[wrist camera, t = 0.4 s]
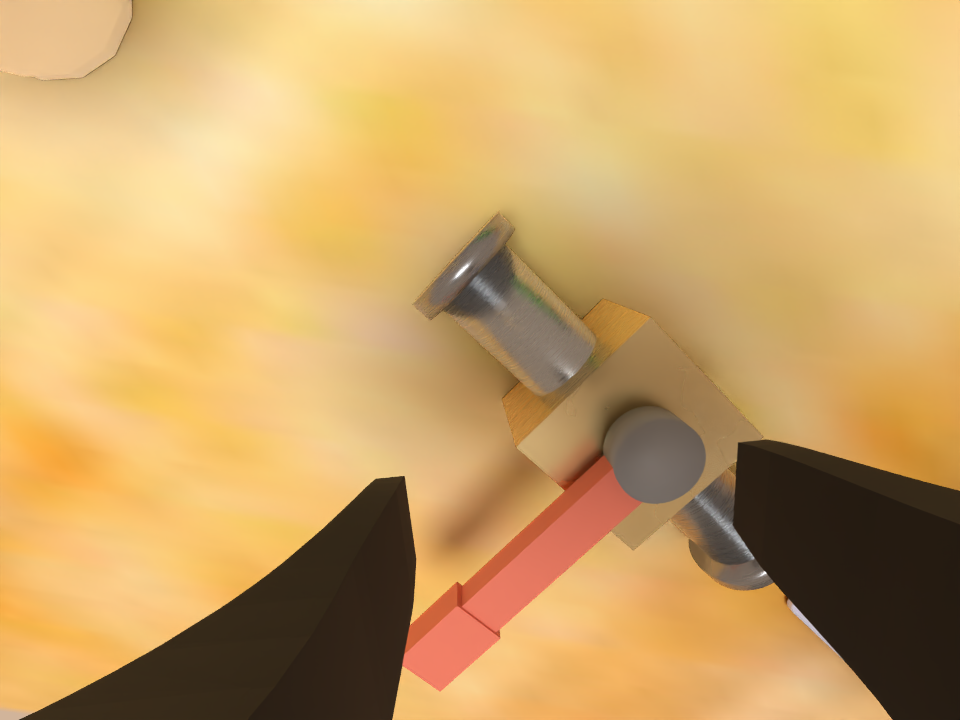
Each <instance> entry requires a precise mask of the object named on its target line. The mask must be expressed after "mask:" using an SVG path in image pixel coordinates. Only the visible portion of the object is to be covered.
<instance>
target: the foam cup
mask: <svg viewBox="0 0 960 720" xmlns="http://www.w3.org/2000/svg"><path fill="white" fill-rule="evenodd" d="M131 19H132V0H0V71H2V72H6V73H11V74H15V75H19V76H24V77H35V78H37V79H40V80H54V79H69V78H83V77H85V76H86V75H87V74H89V73H90V72H92V71H93V70H95V69H96V68H98V67H99V66H100V65H102V64H103V63H105V62H106V61H108V60H109V59H111V58H112V57H113V56H115V54H116V52H117V50H118V48H119V46H120V43H121V41H122V39H123V37H124V34H125V32H126V30H127V28H128V25H129V23H130V21H131Z"/></svg>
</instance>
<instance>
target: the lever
mask: <svg viewBox="0 0 960 720" xmlns="http://www.w3.org/2000/svg"><path fill="white" fill-rule="evenodd" d="M603 454H604V456H602V457H601V458H600V459H599V460H598V461H597V462H596V463H595V464H594V465H593V466H592V467H591V468H590V469H588V470H587V471H586V472H585V473H584V474H583V475H582V476H581V477H580V478H579V479H578V480H577V481H575V482H574V483H573V484H572V485H571V486H570V487H569V488H568V489H567V490H566V491H565V492H564V493H562V494H561V495H560V496H559V497H558V498H557V499H556V500H555V501H554V502H553V503H552V504H551V505H549V506H548V507H547V508H546V509H545V510H544V511H543V512H542V513H541V514H540V515H539V516H538V517H537V518H535V519H534V520H533V521H532V522H531V523H530V524H529V525H528V526H527V527H526V528H525V529H524V530H522V531H521V532H520V533H519V534H518V535H517V536H516V537H515V538H514V539H513V540H512V541H511V542H509V543H508V544H507V545H506V546H505V547H504V548H503V549H502V550H501V551H500V552H499V553H498V554H496V555H495V556H494V557H493V558H492V559H491V560H490V561H489V562H488V563H487V564H486V565H485V566H483V567H482V568H481V569H480V570H479V571H478V572H477V573H476V574H475V575H474V576H473V577H472V578H471V579H469V580H468V581H467V582H466V583H465V584H464V585H463V586H462V585H461V584H459V583H458V582H456V583H455V584H454V585H453V586H452V587H451V588H450V589H449V590H448V591H447V592H446V593H445V594H443V595H442V596H441V597H440V598H439V599H438V600H437V601H436V602H435V603H434V604H433V605H432V606H431V607H429V608H428V609H427V610H426V611H425V612H424V613H423V614H422V615H421V616H420V617H419V618H418V619H417V620H415V621H414V622H413V623H412V624H411V625H410V626H409V632H408V637H407V643H406V648H405V653H404V659H403V664H402V666H404V667H405V668H407V669H408V670H410V671H411V672H413V673H414V674H415V675H417V676H418V677H420V678H421V679H423V680H424V681H426V682H427V683H428V684H430V685H431V686H433V687H434V688H436V689H437V690H439V691H441V690H443V689H444V688H445V687H446V686H447V685H448V684H449V683H450V682H452V681H453V680H454V679H455V678H456V677H457V676H458V675H459V674H461V673H462V672H463V671H464V670H465V669H466V668H467V667H469V666H470V665H471V664H472V663H473V662H474V661H475V660H476V659H478V658H479V657H480V656H481V655H482V654H483V653H484V652H485V651H487V650H488V649H489V648H490V647H491V646H492V645H493V644H495V643H496V642H497V641H498V640H499V639H500V631H499V630H500V629H501V628H502V627H503V626H504V625H505V624H506V623H507V622H509V621H510V620H511V619H512V618H513V617H514V616H515V615H516V614H518V613H519V612H520V611H521V610H522V609H523V608H524V607H525V606H527V605H528V604H529V603H530V602H531V601H532V600H533V599H534V598H536V597H537V596H538V595H539V594H540V593H541V592H542V591H543V590H545V589H546V588H547V587H548V586H549V585H550V584H551V583H552V582H554V581H555V580H556V579H557V578H558V577H559V576H560V575H561V574H563V573H564V572H565V571H566V570H567V569H568V568H569V567H570V566H572V565H573V564H574V563H575V562H576V561H577V560H578V559H579V558H581V557H582V556H583V555H584V554H585V553H586V552H587V551H588V550H590V549H591V548H592V547H593V546H594V545H595V544H596V543H597V542H599V541H600V540H601V539H602V538H603V537H604V536H605V535H606V534H608V533H609V532H610V531H611V530H612V529H613V528H614V527H615V526H617V525H618V524H619V523H620V522H621V521H622V520H623V519H624V518H626V517H627V516H628V515H629V514H630V513H631V512H632V511H633V510H635V509H636V508H637V507H638V506H639V505H640V504H641V503H642V502H644V503H650V504H660V503H666V502H670V501H673V500H675V499H677V498H679V497H681V496H683V495H684V494H686V493H687V492H688V491H690V490H691V489H692V488H693V487H694V485H695V484H696V483H697V482H698V480H699V479H700V477H701V475H702V473H703V470H704V467H705V462H706V452H705V447H704V444H703V441H702V439H701V438H700V436H699V435H698V434H697V432H696V431H695V430H693V429H692V428H691V427H690V426H689V425H687V424H686V423H685V422H683V421H682V420H681V419H680V418H678V417H677V416H676V415H675V414H673V413H672V412H670V411H669V410H666V409H664V408H661V407H656V406H643V407H638V408H635V409H632V410H630V411H628V412H626V413H624V414H623V415H621V416H620V417H619V418H618V419H617V420H616V421H615V422H614V423H613V424H612V425H611V427H610V428H609V430H608V432H607V434H606V436H605V440H604V445H603Z"/></svg>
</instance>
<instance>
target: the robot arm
mask: <svg viewBox="0 0 960 720" xmlns="http://www.w3.org/2000/svg"><path fill="white" fill-rule="evenodd" d="M733 527H734V528H735V530H736V531H737V533H738V534H739V536H740V537H741V539H742V540H743V542H744V543H745V545H746V547H747V548H748V550H749V551H750V552H751V554H752V555H753V557H754V558H755V559H756V561H757V562H758V564H759V565H760V566H761V568H762V569H763V570H764V571H765V572H766V574H767V575H768V576H769V577H770V578H771V579H772V580H773V582H774V583H775V584H776V585H777V586H778V587H779V588H780V590H781V591H782V592H783V593H784V594H785V595H786V596H787V598H788V601H787V606H788V607H789V609H790V610H791V611H792V612H793V613H794V614H795V615H796V616H797V617H798V618H799V619H801V620H802V621H803V622H804V623H805V624H806V625H807V626H808V627H809V628H810V629H811V630H812V631H813V632H814V633H815V634H816V635H817V636H818V637H820V638H821V639H822V640H823V641H824V642H825V643H826V644H827V645H828V646H829V647H830V648H831V649H832V650H833V651H834V652H835V653H836V654H838V655H839V656H840V657H841V658H842V659H843V660H844V661H845V662H846V663H847V664H848V665H849V667H850V668H851V669H852V670H853V671H854V672H855V673H856V675H857V676H858V677H859V678H860V679H861V681H862V682H863V683H864V684H865V685H866V687H867V688H868V689H869V690H870V691H871V692H872V694H873V695H874V696H875V697H876V699H877V700H878V701H879V702H880V704H881V705H882V706H883V708H884V709H885V710H886V712H887V713H888V714H889V716H890V717H891V718H892V719H893V720H960V491H958V490H954V489H950V488H946V487H942V486H939V485H935V484H931V483H927V482H923V481H920V480H916V479H912V478H909V477H905V476H901V475H898V474H894V473H891V472H887V471H884V470H880V469H877V468H873V467H870V466H866V465H863V464H859V463H856V462H853V461H849V460H846V459H842V458H839V457H835V456H832V455H828V454H825V453H821V452H818V451H814V450H811V449H807V448H803V447H799V446H795V445H791V444H787V443H782V442H777V441H771V440H757V441H747V442H738V449H737V466H736V482H735V499H734V516H733ZM415 571H416V554H415V547H414V540H413V533H412V526H411V519H410V512H409V505H408V498H407V491H406V484H405V476H400V477H390V478H380V479H375V480H374V481H373V482H372V483H370V484H369V485H368V486H367V487H366V488H365V489H364V490H363V491H362V492H361V493H360V494H359V495H358V496H357V497H356V498H355V499H354V500H353V501H352V502H351V503H350V504H349V505H348V506H346V507H345V508H344V509H343V510H342V511H341V512H340V513H339V514H338V515H337V516H336V517H335V518H334V519H333V520H332V521H331V522H330V523H328V524H327V525H326V526H325V527H324V528H323V529H322V530H321V531H320V532H319V533H317V534H316V535H315V536H314V537H313V538H312V539H310V540H309V541H308V542H307V543H306V544H305V545H303V546H302V547H301V548H300V549H299V550H297V551H296V552H295V553H294V554H293V555H292V556H290V557H289V558H288V559H287V560H286V561H285V562H283V563H282V564H281V565H280V566H278V567H277V568H276V569H275V570H273V571H272V572H271V573H269V574H268V575H267V576H265V577H264V578H263V579H261V580H260V581H259V582H257V583H256V584H254V585H253V586H252V587H250V588H249V589H247V590H246V591H245V592H243V593H242V594H240V595H239V596H238V597H236V598H235V599H233V600H232V601H230V602H229V603H227V604H226V605H225V606H223V607H222V608H220V609H218V610H217V611H215V612H214V613H212V614H210V615H209V616H207V617H206V618H204V619H202V620H201V621H199V622H198V623H196V624H194V625H193V626H191V627H189V628H188V629H186V630H185V631H183V632H181V633H180V634H178V635H177V636H175V637H173V638H172V639H170V640H169V641H167V642H165V643H164V644H162V645H161V646H159V647H157V648H155V649H154V650H152V651H150V652H148V653H147V654H145V655H143V656H141V657H139V658H138V659H136V660H134V661H132V662H130V663H129V664H127V665H125V666H123V667H122V668H120V669H118V670H116V671H114V672H112V673H111V674H109V675H107V676H105V677H103V678H101V679H99V680H97V681H95V682H93V683H92V684H90V685H88V686H86V687H84V688H82V689H80V690H78V691H76V692H74V693H73V694H71V695H69V696H67V697H65V698H63V699H61V700H59V701H57V702H55V703H53V704H51V705H49V706H47V707H45V708H43V709H41V710H39V711H37V712H35V713H32V714H30V715H28V716H26V717H24V718H22V719H20V720H392V718H393V712H394V707H395V701H396V696H397V691H398V685H399V680H400V675H401V669H402V664H403V659H404V653H405V648H406V643H407V637H408V632H409V626H410V621H411V615H412V609H413V602H414V588H415Z"/></svg>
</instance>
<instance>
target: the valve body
mask: <svg viewBox="0 0 960 720" xmlns="http://www.w3.org/2000/svg"><path fill="white" fill-rule="evenodd" d="M514 230H515V228H514V227H513V226H512V225H511V224H510V222H509V221H508V220H507V219H506V218H505V217H504V216H503V215H502V214H501V213H500V212H499V211H498V212H497V213H496V214H495V215H494V216H493V217H492V218H491V219H490V220H489V221H488V222H487V223H486V224H485V225H484V226H483V227H482V228H481V229H480V230H479V231H478V232H477V233H476V234H475V235H474V237H473V238H472V239H471V240H470V241H469V242H468V243H467V244H466V245H465V246H464V247H463V248H462V249H461V250H460V252H459V253H458V254H457V255H456V256H455V257H454V258H453V259H452V260H451V261H450V262H449V263H448V265H447V266H446V267H445V268H444V269H443V270H442V271H441V272H440V273H439V274H438V276H437V277H436V278H435V279H434V280H433V281H432V282H431V283H430V284H429V286H428V287H427V288H426V289H425V290H424V291H423V292H422V293H421V295H420V296H419V297H418V298H417V299H416V300H415V302H414V303H413V304H412V305H414V306H415V307H416V308H417V309H418V310H419V311H420V312H421V313H422V314H423V315H424V316H426V317H427V318H428V319H429V320H431V319H433V318H434V317H435V316H436V315H438V314H439V313H440V312H441V311H442V310H444V311H445V312H446V313H447V314H448V315H449V316H450V317H451V318H452V319H454V320H455V321H456V322H457V323H458V324H459V325H460V326H461V327H462V328H463V329H464V330H465V331H466V332H468V333H469V334H470V335H471V336H472V337H473V338H474V339H475V340H476V341H477V342H478V343H479V344H480V345H482V346H483V347H484V348H485V349H486V350H487V351H488V352H489V353H490V354H491V355H492V356H493V357H495V358H496V359H497V360H498V361H499V362H500V363H501V364H502V365H503V366H504V367H505V368H506V369H507V370H509V371H510V372H511V373H512V374H513V375H514V376H515V377H516V378H517V379H518V380H519V381H520V382H519V383H518V384H517V385H516V386H515V387H514V388H513V389H512V390H511V391H510V392H509V393H508V394H507V395H506V396H505V397H504V398H503V399H502V401H503V404H504V408H505V411H506V415H507V418H508V422H509V425H510V428H511V432H512V435H513V439H514V442H515V446H516V448H517V449H519V450H520V451H521V452H522V453H523V454H524V455H525V456H527V457H528V458H529V459H530V460H531V461H532V462H533V463H534V464H536V465H537V466H538V467H539V468H540V469H541V470H542V471H544V472H545V473H546V474H547V475H548V476H549V477H550V478H551V479H553V480H554V481H555V482H556V483H557V484H558V485H559V486H561V487H562V488H563V489H564V490H565V491H566V490H567V489H568V488H569V487H570V486H571V485H572V484H573V483H574V482H575V481H577V480H578V479H579V478H580V477H581V476H582V475H583V474H584V473H585V472H586V471H587V470H588V469H590V468H591V467H592V466H593V465H594V464H595V463H596V462H597V461H598V460H599V459H600V458H601V457H602V456H604V454H603V445H604V440H605V436H606V434H607V432H608V430H609V428H610V427H611V425H612V424H613V423H614V422H615V421H616V420H617V419H618V418H619V417H620V416H621V415H623V414H624V413H626V412H628V411H630V410H632V409H635V408H638V407H643V406H656V407H661V408H664V409H666V410H669V411H670V412H672V413H673V414H675V415H676V416H677V417H678V418H680V419H681V420H682V421H683V422H685V423H686V424H687V425H689V426H690V427H691V428H692V429H693V430H695V431H696V432H697V434H698V435H699V436H700V438H701V439H702V441H703V444H704V447H705V452H706V462H705V467H704V470H703V473H702V475H701V477H700V479H699V480H698V482H697V483H696V484H695V485H694V487H693V488H692V489H691V490H690V491H688V492H687V493H686V494H684V495H683V496H681V497H679V498H677V499H675V500H673V501H670V502H666V503H660V504H650V503H644V502H642V503H641V504H640V505H639V506H638V507H637V508H636V509H635V510H633V511H632V512H631V513H630V514H629V515H628V516H627V517H626V518H624V519H623V520H622V521H621V522H620V523H619V524H618V525H617V526H615V527H614V528H613V529H612V530H611V531H612V532H613V533H614V534H615V535H616V536H617V537H618V538H619V539H621V540H622V541H623V542H624V543H625V544H626V545H627V546H629V547H630V548H631V549H632V550H633V551H634V550H635V549H636V548H637V547H638V546H639V545H640V544H642V543H643V542H644V541H645V540H646V539H647V538H648V537H650V536H651V535H652V534H653V533H654V532H655V531H656V530H658V529H659V528H660V527H661V526H662V525H663V524H665V523H666V522H667V521H668V520H670V521H671V522H672V523H673V524H674V525H676V526H677V527H678V528H679V529H680V530H681V531H682V532H683V533H684V534H685V535H686V536H687V537H688V538H689V548H690V552H691V554H692V557H693V559H694V560H695V562H696V563H697V564H698V566H699V567H700V568H701V569H702V570H703V571H705V572H706V573H707V574H708V575H709V576H710V577H711V578H712V579H714V580H715V581H716V582H717V583H719V584H721V585H723V586H725V587H727V588H731V589H735V590H755V589H759V588H762V587H765V586H768V585H770V584H772V583H774V582H773V580H772V579H771V578H770V577H769V576H768V575H767V574H766V572H765V571H764V570H763V569H762V568H761V566H760V565H759V564H758V562H757V561H756V559H755V558H754V557H753V555H752V554H751V552H750V551H749V550H748V548H747V547H746V545H745V543H744V542H743V540H742V539H741V537H740V536H739V534H738V533H737V531H736V530H735V528H734V527H733V516H734V499H735V482H736V476H735V475H734V474H733V473H732V472H731V471H730V470H729V469H728V468H729V467H730V466H731V465H732V464H733V463H735V462H736V461H737V449H738V442H747V441H757V440H761V439H762V438H763V436H762V435H761V434H760V432H759V431H758V430H757V429H756V428H755V427H754V426H753V425H752V424H751V423H750V422H749V421H748V420H747V419H746V418H745V417H744V415H743V414H742V413H741V412H740V411H739V410H738V409H737V408H736V407H735V406H734V405H733V404H732V403H731V402H730V401H729V400H728V399H727V397H726V396H725V395H724V394H723V393H722V392H721V391H720V390H719V389H718V388H717V387H716V386H715V385H714V384H713V383H712V382H711V380H710V379H709V378H708V377H707V376H706V375H705V374H704V373H703V372H702V371H701V370H700V369H699V368H698V367H697V366H696V365H695V364H694V362H693V361H692V360H691V359H690V358H689V357H688V356H687V355H686V354H685V353H684V352H683V351H682V350H681V349H680V348H679V347H678V345H677V344H676V343H675V342H674V341H673V340H672V339H671V338H670V337H669V336H668V335H667V334H666V333H665V332H664V331H663V330H662V329H661V327H660V326H659V325H658V324H657V323H656V322H655V321H654V320H653V319H652V318H651V317H649V316H647V315H644V314H641V313H639V312H636V311H634V310H631V309H628V308H626V307H623V306H621V305H618V304H615V303H613V302H610V301H608V300H605V299H602V300H601V301H600V302H599V303H598V304H597V305H596V306H595V307H594V308H593V309H592V310H591V311H590V312H589V313H588V314H587V315H586V316H585V317H584V318H583V319H582V320H580V319H579V318H578V317H577V316H576V315H575V314H574V312H573V311H572V310H571V309H570V308H569V307H568V306H567V305H566V304H565V303H564V302H563V301H562V300H561V299H560V298H559V297H558V296H557V295H556V294H555V293H554V292H553V291H552V290H551V289H550V288H549V287H548V286H547V285H546V284H545V283H544V282H543V281H542V280H541V279H540V278H539V277H538V276H537V275H536V274H535V273H534V272H533V271H532V270H531V269H530V268H529V267H528V266H527V265H526V264H525V263H524V262H523V261H522V260H521V259H520V258H519V257H518V256H517V255H516V254H515V253H514V252H513V251H512V250H511V249H510V248H509V247H508V246H507V245H506V244H505V243H506V242H507V240H508V239H509V238H510V236H511V235H512V234H513V232H514Z"/></svg>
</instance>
